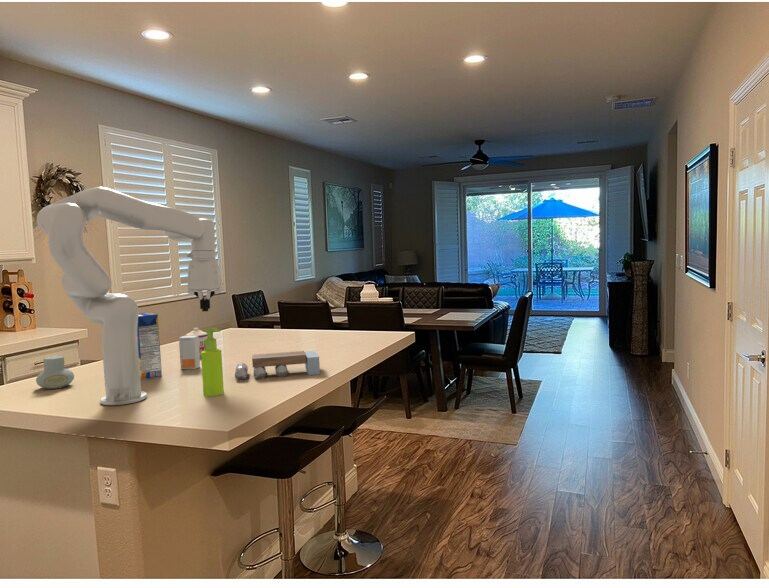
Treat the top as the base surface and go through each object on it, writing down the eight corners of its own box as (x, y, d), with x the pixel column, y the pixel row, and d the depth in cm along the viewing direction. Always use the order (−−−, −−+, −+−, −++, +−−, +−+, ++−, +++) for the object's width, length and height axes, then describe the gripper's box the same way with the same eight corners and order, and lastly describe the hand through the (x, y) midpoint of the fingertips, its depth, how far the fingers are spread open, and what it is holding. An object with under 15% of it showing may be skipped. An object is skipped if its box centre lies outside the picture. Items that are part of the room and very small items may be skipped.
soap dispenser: (215, 397, 165) (211, 330, 163) (199, 394, 168) (195, 329, 167) (230, 392, 170) (226, 327, 168) (214, 390, 173) (210, 326, 172)
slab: (306, 363, 192) (306, 354, 191) (252, 367, 188) (252, 358, 187) (304, 359, 199) (303, 350, 199) (252, 363, 195) (252, 354, 195)
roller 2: (273, 369, 188) (278, 379, 188) (284, 364, 188) (289, 374, 189) (272, 362, 198) (277, 372, 199) (283, 358, 199) (287, 368, 200)
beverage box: (142, 379, 192) (137, 316, 190) (131, 375, 200) (127, 314, 199) (162, 376, 197) (157, 314, 195) (150, 371, 205) (146, 312, 203)
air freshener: (36, 392, 179) (34, 361, 179) (36, 387, 186) (34, 357, 186) (75, 386, 185) (73, 357, 184) (74, 382, 192) (71, 353, 191)
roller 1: (233, 380, 185) (246, 381, 186) (235, 368, 185) (248, 370, 186) (235, 373, 196) (246, 374, 197) (237, 362, 196) (248, 363, 197)
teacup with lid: (194, 358, 229) (192, 330, 228) (182, 356, 235) (180, 328, 234) (219, 353, 239) (217, 326, 238) (206, 351, 244) (205, 325, 243)
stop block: (319, 374, 191) (319, 356, 190) (308, 375, 190) (307, 357, 190) (316, 367, 203) (315, 350, 202) (305, 368, 202) (304, 351, 201)
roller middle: (252, 378, 186) (264, 380, 187) (254, 366, 186) (266, 368, 187) (252, 371, 197) (264, 373, 198) (255, 360, 197) (266, 362, 198)
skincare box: (180, 369, 207) (178, 337, 206) (184, 367, 212) (182, 335, 211) (196, 369, 207) (194, 337, 206) (200, 366, 211) (198, 335, 210)
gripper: (178, 256, 181) (180, 312, 182) (225, 255, 184) (227, 311, 185) (181, 256, 188) (183, 311, 189) (227, 256, 191) (229, 309, 192)
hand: (205, 311), depth 187 cm, fingers closed
